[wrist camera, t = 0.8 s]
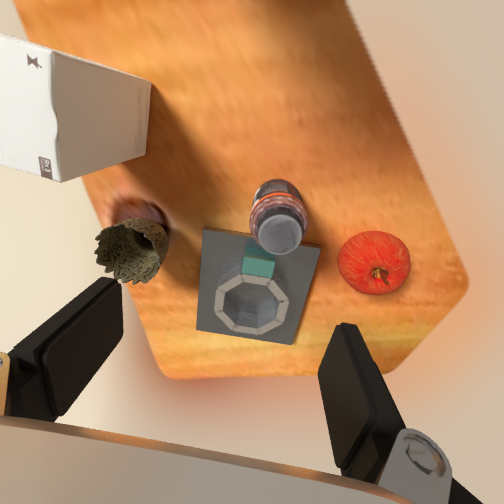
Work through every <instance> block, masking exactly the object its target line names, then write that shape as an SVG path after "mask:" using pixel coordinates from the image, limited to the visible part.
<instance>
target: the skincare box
mask: <svg viewBox="0 0 504 504" xmlns="http://www.w3.org/2000/svg"><path fill="white" fill-rule="evenodd" d="M151 85H152V83H151V82H150V81H149V80H146V79H143V78H141V77H138V76H135V75H132V74H129V73H126V72H123V71H121V70H118V69H115V68H112V67H109V66H106V65H103V64H100V63H97V62H94V61H91V60H87V59H84V58H81V57H77V56H74V55H71V54H67V53H64V52H61V51H58V50H54V49H51V48H48V47H45V46H42V45H39V44H36V43H33V42H30V41H27V40H24V39H21V38H17V37H14V36H11V35H7V34H3V33H0V165H2V166H6V167H10V168H13V169H17V170H20V171H24V172H27V173H31V174H34V175H38V176H41V177H45V178H48V179H51V180H55V181H58V182H61V183H62V182H65V181H68V180H71V179H74V178H77V177H80V176H83V175H86V174H89V173H92V172H95V171H98V170H101V169H104V168H107V167H110V166H113V165H116V164H119V163H122V162H125V161H128V160H131V159H134V158H137V157H140V156H143V155H145V153H146V143H147V132H148V121H149V109H150V93H151Z"/></svg>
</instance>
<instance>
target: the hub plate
mask: <svg viewBox="0 0 504 504" xmlns="http://www.w3.org/2000/svg"><path fill="white" fill-rule="evenodd" d="M320 251H321V247H320V245H316V244H310V243H304V242H300V244H299V246H298V247H297V248H296V249H295V250H294V251H292V252H290V253H288V254H285V255H274V254H271V253H269V252H267V251H266V250H265V249H264V248H263V247H262V246H260V245H259V244H258V243H257V242H256V240H255V239H254V238H253V236H252V234H249V233H243V232H237V231H231V230H225V229H219V228H213V227H207V226H205V227H204V228H203V236H202V250H201V265H200V280H199V295H198V309H197V324H196V330H200V331H206V332H213V333H219V334H225V335H231V336H237V337H244V338H250V339H256V340H262V341H268V342H275V343H281V344H287V345H292V342H293V339H294V336H295V333H296V329H297V326H298V323H299V320H300V316H301V313H302V310H303V307H304V303H305V300H306V297H307V294H308V290H309V287H310V284H311V281H312V277H313V274H314V271H315V268H316V264H317V261H318V258H319V255H320Z"/></svg>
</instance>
